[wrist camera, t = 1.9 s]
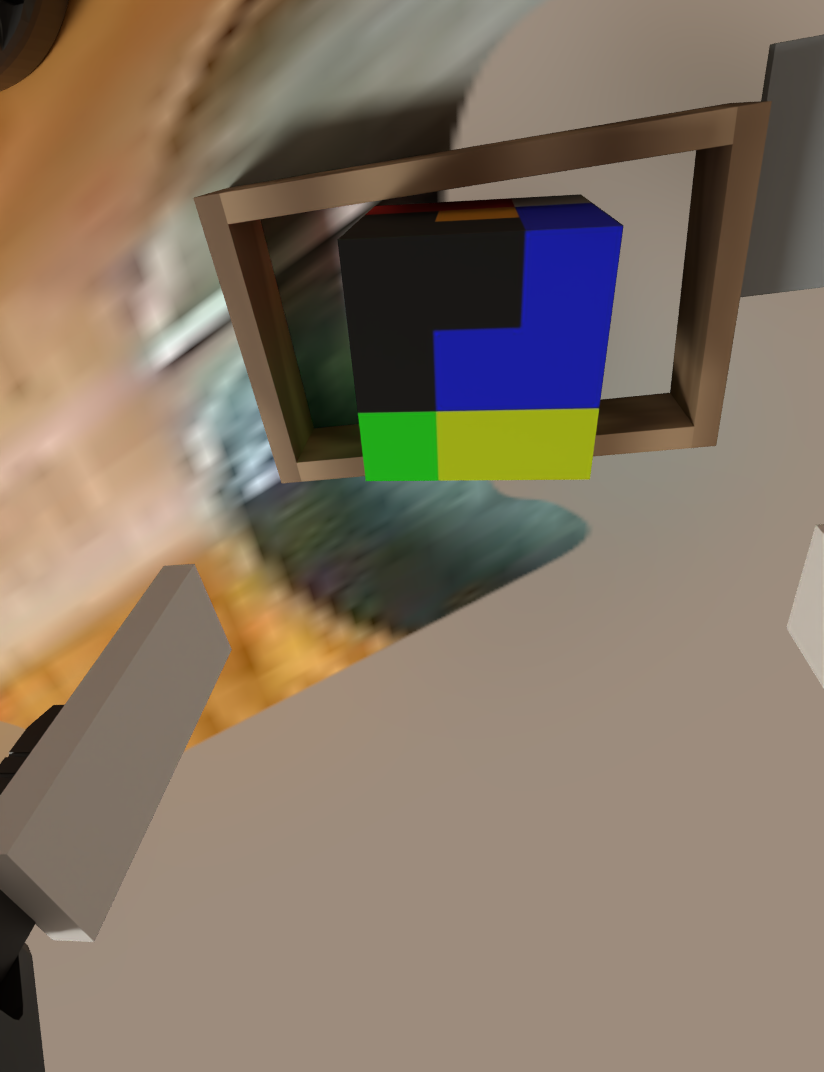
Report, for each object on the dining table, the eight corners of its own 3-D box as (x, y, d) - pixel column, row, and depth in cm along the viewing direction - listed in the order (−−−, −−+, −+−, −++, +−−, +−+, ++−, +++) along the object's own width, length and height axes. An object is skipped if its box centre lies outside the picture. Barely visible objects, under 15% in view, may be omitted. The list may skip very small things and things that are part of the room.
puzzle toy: (580, 194, 28) (623, 225, 20) (562, 393, 34) (589, 479, 26) (375, 205, 29) (337, 239, 21) (390, 396, 35) (365, 480, 27)
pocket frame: (300, 447, 38) (281, 483, 34) (228, 187, 29) (193, 197, 26) (690, 410, 34) (716, 445, 30) (729, 103, 26) (772, 100, 22)
